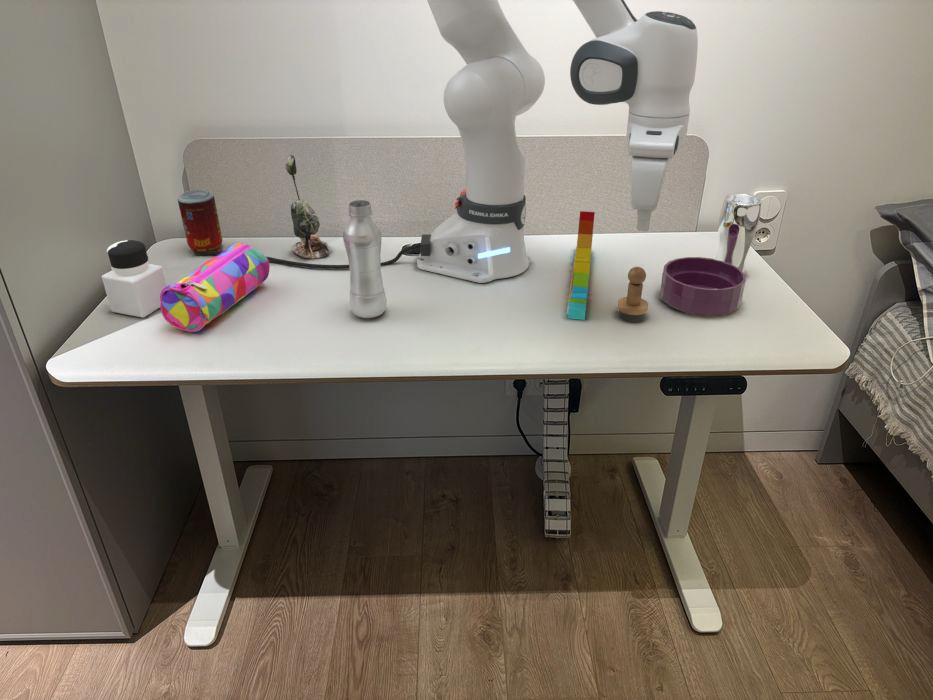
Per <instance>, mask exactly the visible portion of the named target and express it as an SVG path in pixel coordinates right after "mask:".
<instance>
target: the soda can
mask: <svg viewBox="0 0 933 700" xmlns="http://www.w3.org/2000/svg"><path fill="white" fill-rule="evenodd" d="M214 195H215V194H213V193H212V192H210V191H209V190H208V189H207V190H206V189H191V190H187V191H185V192H182V193H181V194H180V195H179V196H178V197H177V203H178V208H179V212H180V218H181V222H182V226H183V230H184V234H185V239H186V243H187V246H188V248H190V250H191V251H192V253H193V254H194V255H198V256H208V255H209V254H195V251H221V249H222V248H221V247H222V244H223V234H222V231H221V225H220V220H219V215H218V209H217V205H216V199H215V196H214Z"/></svg>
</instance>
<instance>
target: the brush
mask: <svg viewBox="0 0 933 700" xmlns="http://www.w3.org/2000/svg"><path fill="white" fill-rule="evenodd" d="M646 278H647V273H646V271H645V269H644V267H643V268H642V267H641V266H633V267H631V268H630V269H629V270H628V272H627V279H628V281H629V282H628V283H627V291H626V296H622V297H620V298H619V299H618V300H617V306H616V307H617V311H618V312H617V316H618V318H619V319H620V320H622V321H623V322H627V323H640V322H643V321H644V320H645V318H646V313H647V312H648V311H649V302H648V301H647V299H644V298H642V294H643V286H644V284H643V283H644V282H645V280H646Z"/></svg>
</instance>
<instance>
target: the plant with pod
mask: <svg viewBox="0 0 933 700" xmlns="http://www.w3.org/2000/svg"><path fill="white" fill-rule="evenodd" d="M284 166H285V170H286V172H287V174H288V175H289V176H291V178H292V180H293V184H294V187H295V191H296V192H295V193H296V195H297V200H296V201H294V202H292V203H291V204H290V216H291V221H292V224H293V226H292V227H293V234H294V236H295V237H297V238H299V239H300V241H297V242H295V246H294V248H292V251H291V252H292V253H295V254H296V255H297V256H299V257H300V258H302V259H307V260H308V259H309V260H314V259H319V258H324V257H326V256H328V255H329V254H330V251H331V250H330V248H331V247H330V246H329V244H328V243H327V242H325V241H323V240H321V239H320V237H319V235H317V233H318V232H319V229H320V226H321V223H320V218H319V217H318V214H317V213H316V211H315V210H314V208H313V207H312V206H311V205H310V204H309V203H308V202H307V201H306V200H301V199H300V195H299V190H298V187H297V184H296V178H295V177H296V176H295V175H296V174H297V170H298V169H297V163H296V158H295V156H294V155H292V154H289V155H288V158H287V159H286V162H285V165H284Z"/></svg>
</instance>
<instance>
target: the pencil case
mask: <svg viewBox="0 0 933 700" xmlns="http://www.w3.org/2000/svg"><path fill="white" fill-rule="evenodd" d="M222 251H223V252H222V253H220V254H216V255H215V256H214V257H211V258H210V259H208V260H207V261H206V262H204V263H203V264H201V265H200V266H199V267H197V268H196V269H194V270H193V271H191V272H190V273H189V274H187V275H186V276H184V277H183V278H182V279H180V280H179V281H177V282H176V283H172V284H169V285H167V287H165V288H164V289H163V290H162V292H161V295H160V311H161V315H162V317H163V319H164V320H165V321H166V322H167V324H169V325H170V326H171V327H173V328H174V329H177V330H180V331H184V332H188V333H196V332H199V331H201V330H203V328H204V327H205V326H206V325H208V324H210V323H211V322H212V321H213V320H215V319H216V318H218V317H219V316H221V315H223V314H224V313H225V312H227V311H228V310H230V308H232V307H234V305H236V304H237V303H238V302H239V301H240V300H243V299H244V298H245V297H247V296H248V295H249V294H250V293H252V292H253V291H254V290H256V289H258V288H259V287H260V286H261V285H262V284H264V282H265V281H266V280H267V279H268V277H269V275H270V269H271V268H270V261H268V259H267V257H268V256H267V257H266V255H265V254H264V253H262V252H261V251H259V250H257V249H255V248H254V247H251V245H250V244H245V243H242V242H236V243H233V244H232V245H231V246H229V247H228V248H227V249H225V250H222Z"/></svg>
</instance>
